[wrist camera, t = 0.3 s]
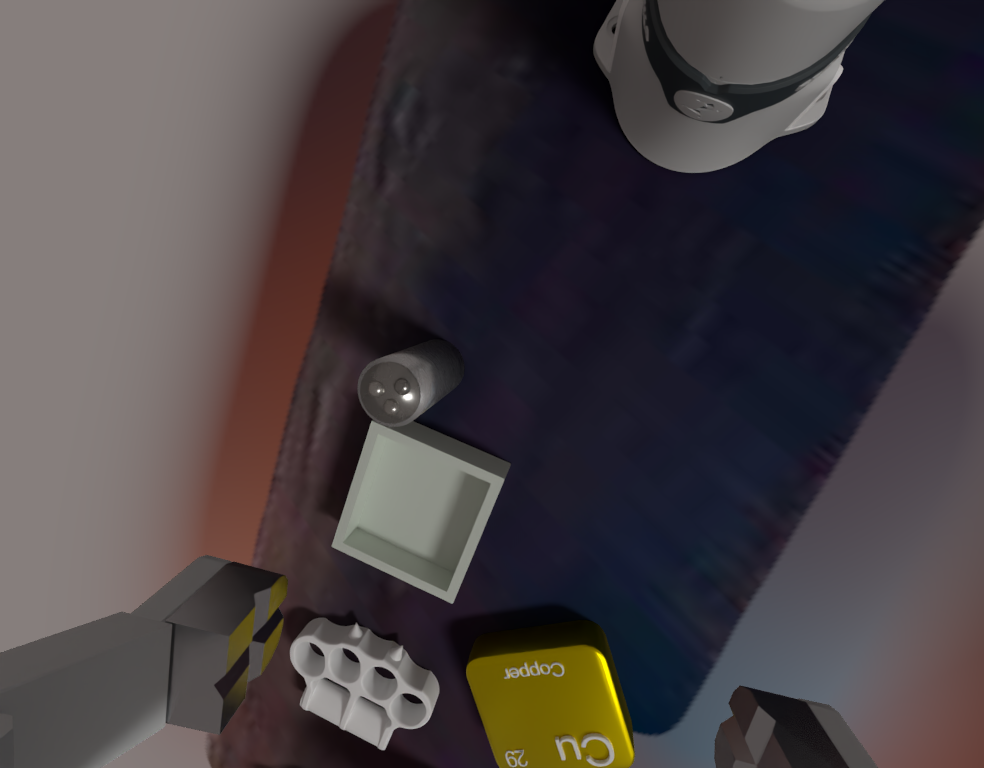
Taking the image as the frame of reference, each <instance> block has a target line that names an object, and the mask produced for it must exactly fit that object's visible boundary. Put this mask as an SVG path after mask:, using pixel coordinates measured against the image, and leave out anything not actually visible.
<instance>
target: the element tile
mask: <svg viewBox="0 0 984 768" xmlns="http://www.w3.org/2000/svg"><path fill="white" fill-rule="evenodd" d="M466 676H467V680H468V682H469V685H470V688H471V691H472V694H473V697H474V700H475V702H476V705H477V708H478V711H479V714H480V717H481V719H482V722H483V725H484V728H485V731H486V734H487V737H488V739H489V742H490V745H491V748H492V751H493V754H494V757H495V759H496V762H497V764H498V766H499V767H500V768H629V767H630V766H631V765H632V764H633V762H634V757H635V751H634V740H633V730H632V721H631V718H630V715H629V711H628V708H627V705H626V701H625V698H624V695H623V691H622V688H621V685H620V681H619V678H618V675H617V671H616V668H615V665H614V661H613V658H612V655H611V651H610V648H609V645H608V641H607V638H606V635H605V633H604V631H603V630H602V628H601V627H600V626H599V625H598V624H596V623H594V622H592V621H587V620H577V621H570V622H563V623H556V624H549V625H541V626H534V627H527V628H520V629H513V630H506V631H499V632H491V633H486V634H482V635H481V636H479V637H477V639H476V640H475V642H474V645H473V648H472V651H471V654H470V657H469V660H468V663H467V667H466Z"/></svg>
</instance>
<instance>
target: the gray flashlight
mask: <svg viewBox="0 0 984 768" xmlns="http://www.w3.org/2000/svg"><path fill="white" fill-rule="evenodd" d="M464 367H465V366H464V360H463V357H462V355H461V353H460V352H459V350H458V349H457V348H456V347H455V346H454V345H452V344H451V343H449V342H447V341H444V340H440V339H434V340H429V341H427V342H424V343H421V344H418V345H415V346H413V347H410V348H407V349H404V350H401V351H398V352H396V353H393V354H390V355H387V356H384V357H382V358H379V359H376V360H374V361H372V362H371V363H369V364H368V365H367V366H366V367H365V369H364V370H363V371H362V373H361V375H360V378H359V381H358V397H359V400H360V403H361V405H362V407H363V409H364V410H365V412H366V413H367V414H368V415H369V416H370V417H371V418H372V419H373V420H375V421H376V422H378V423H380V424H382V425H385V426H389V427H399V426H404V425H406V424H408V423H410V422H412V421H413V420H415V419H416V418H417V417H418V416H420V415H421V414H422V413H424V412H425V411H426V410H427V409H429V408H430V407H431V406H432V405H434V404H435V403H436V402H438V401H439V400H440V399H441V398H443V397H444V396H445V395H447V394H448V393H449V392H450V391H452V390H453V389H454V388H456V387H457V386H458V384H459V383H460V382H461V380H462V378H463V375H464Z"/></svg>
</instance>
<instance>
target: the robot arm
mask: <svg viewBox="0 0 984 768" xmlns="http://www.w3.org/2000/svg"><path fill="white" fill-rule="evenodd" d="M883 1H884V0H616V2H615V4H614V6H613V7H612V9H611V11H610V13H609V14H608V16H607V18H606V20H605V21H604V23H603V25H602V27H601V28H600V30H599V32H598V34H597V36H596V38H595V42H594V46H593V53H594V57H595V59H596V61H597V63H598V65H599V67H600V68H601V70H602V71H603V73H604V74H605V76H606V77H607V79H608V80H609V82H610V85H611V89H612V94H613V101H614V107H615V111H616V115H617V118H618V121H619V123H620V126H621V128H622V130H623V132H624V134H625V135H626V137H627V139H628V140H629V141H630V143H631V144H632V145H633V146H634V147H635V149H636V150H637V151H638V152H640V153H641V154H642V155H643V156H644V157H646V158H647V159H649V160H650V161H652V162H653V163H655V164H657V165H659V166H662V167H664V168H667V169H670V170H674V171H679V172H687V173H700V172H709V171H714V170H718V169H722V168H725V167H728V166H730V165H733V164H735V163H737V162H739V161H741V160H743V159H745V158H746V157H748V156H750V155H751V154H753V153H754V152H755V151H757V150H758V149H760V148H761V147H762V146H764V145H765V144H766V143H768V142H770V141H771V140H773V139H775V138H777V137H780V136H784V135H788V134H792V133H795V132H798V131H801V130H804V129H807V128H809V127H810V126H812V125H814V124H815V123H816V122H817V121H818V120H819V119H820V118H821V116H822V115H823V114H824V112H825V109H826V106H827V103H828V100H829V96H830V93H831V90H832V86H833V84H834V83H835V82H836V81H837V79H838V78H839V77H840V75H841V73H842V71H843V67H842V66H841V65H840V63H841V61H842V58H843V55H844V52H845V50H846V49H847V47H848V45H849V44H850V43H851V42H852V41H853V39H854V38H855V36H856V35H857V34H858V33H859V31H860V30H861V29H862V27H863V26H864V24H865V23H866V21H867V20H868V18H869V17H870V15H871V13H872V11H874V10H875V9H876V8H877V7H878V6H879V5H880V4H881V3H882V2H883ZM615 27H616V30H615V34H613V33H612V30H613V29H614V28H615ZM287 585H288V579H287V578H286V576H285V575H282V574H278V573H274V572H271V571H267V570H263V569H259V568H256V567H252V566H248V565H244V564H241V563H237V562H231V561H228V560H224V559H220V558H216V557H212V556H208V555H206V556H202V557H199V558H197V559H196V560H195V561H193V562H192V563H191V564H190V565H189V566H187V567H186V568H185V569H184V570H183V571H182V572H180V573H179V574H178V575H177V576H175V577H174V578H173V579H172V580H171V581H169V582H168V583H167V584H166V585H165V586H163V587H162V588H161V589H160V590H159V591H157V592H156V593H155V594H154V595H153V596H151V597H150V598H149V599H148V600H147V601H145V602H144V603H143V604H142V605H140V606H139V607H138V608H137V609H136V610H134V611H133V612H132V613H131V614H129V613H125V612H119V613H117V614H113V615H111V616H108V617H105V618H102V619H99V620H96V621H93V622H90V623H87V624H84V625H81V626H78V627H75V628H72V629H69V630H66V631H63V632H60V633H58V634H54V635H52V636H49V637H45V638H43V639H40V640H37V641H34V642H31V643H28V644H25V645H22V646H19V647H16V648H13V649H10V650H7V651H4V652H1V653H0V768H102V767H103V766H105V765H106V764H108V763H109V762H111V761H113V760H114V759H116V758H117V757H119V756H120V755H122V754H123V753H125V752H127V751H128V750H130V749H131V748H133V747H134V746H136V745H137V744H139V743H141V742H142V741H144V740H145V739H147V738H148V737H150V736H151V735H153V734H155V733H156V732H158V731H159V730H161V729H162V728H164V727H165V724H166V723H168V724H173V725H177V726H182V727H186V728H191V729H195V730H201V731H205V732H209V733H214V734H218V735H220V734H221V732H222V731H223V729H224V728H225V726H226V725H227V723H228V722H229V720H230V719H231V718H232V716H233V715H234V713H235V712H236V710H237V709H238V707H239V706H240V704H241V703H242V702H243V700H244V699H245V695H246V687H247V682H249V681H251V680H252V679H254V678H256V677H258V676H260V675H261V674H262V672H263V671H264V669H265V668H266V666H267V665H268V663H269V662H270V660H271V657H272V655H273V653H274V651H275V649H276V647H277V644H278V642H279V638H280V635H281V631H282V626H283V619H284V617H283V615H282V613H281V611H280V609H279V607H278V606H279V605H280V604H281V602H282V601H283V600H284V599H285V597H286V596H287ZM729 705H730V708H731V710H732V713H733V716H732V717H730V718H729V719H727V720H726V721H724V722H723V723H721V724H720V727H719V730H718V732H717V735H716V738H715V757H714V759H715V764H716V768H878V767H877V766H876V764H875V763H874V761H873V760H872V758H871V757H870V756H869V755H868V753H867V751H866V750H865V749H864V747H863V746H862V745H861V743H860V742H859V740H858V739H857V738H856V736H855V735H854V733H853V732H852V731H851V729H850V728H849V726H848V725H847V724H846V722H845V721H844V719H843V718H842V717H841V715H840V714H839V713H838V712H837V711H836V710H835V709H834V708H832V707H831V706H830V705H827V704H822V703H817V702H812V701H808V700H803V699H795V698H791V697H787V696H783V695H778V694H774V693H770V692H765V691H761V690H757V689H753V688H749V687H744V686H739V687H738V688H737V689H736V690H735V691H734V692H733V694H732V697H731V699H730V701H729Z"/></svg>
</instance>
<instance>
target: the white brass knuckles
mask: <svg viewBox="0 0 984 768" xmlns="http://www.w3.org/2000/svg"><path fill="white" fill-rule="evenodd" d="M309 642H311V643H313V644H315V645H317V646H318V647H319V648H320V649H321V650H322V652H323V654H324V657H323V656H320V655H318V654H316V653H315V652H314V651H313V650H312V648H311V646H310V643H309ZM342 648H346V649H348V650H350V651H352V652H353V653H354V654H355V655H356V656H357V657H358V659H359V661H360V663H356V662H353V661H351V660H350V659H348V658H347V657H346V656H345V654H344V652H343V649H342ZM290 658H291V662H292V664H293V666H294V668H295V669H296V670H297V671H298V673H299V674H301V675H302V676H303V677H304V679H305V682H306V685H307V686H306V688H305V691H304V693H303V695H302V698H301V701H300V706H302V708H303V709H304V710H306V711H307V710H309V711H311V712H313V713H315V714H317V715H318V716H320V717H322V718H324V719H326V720H328V721H330V722H332V723H333V724H335V725H337V726H339V727H340V729H342V730H347V731H348V732H350V733H352V734H354V735H356V736H358V737H360V738H362V739H364V740H365V741H367V742H369V743H371V744H373V745H375V746H377V747H378V749H380V750H384V751H385V749H386V746H387V744H388V742H389V739H390V737H391V735H392V732H393V730H394V729H396V728H398V727H402V728H406V729H415V728H419V727H421V726H423V725H424V724H426V723H427V722H428V720H429V719H430V717H431V714H432V711H433V709H434V706H435V703H436V700H437V698H438V695H439V684H438V681H437V679H436V677H435V676H434V674H433V673H432V672H431V671H429V670H425V669H423V668H421V667H419V666H418V665H416V664H415V663H414V662H413V661H412V660H411V659H410V657H409V656H408V654H407V651H405V650H404V649H403V646H399V645H398V644H397V643H395V642H394V641H388V640H384V639H381V638H379V637H378V636H376V635H375V634H373V633H372V632H371V631H370V629H369V628H365V627H361V626H359V625H358V624H357V622H356V624H355V625H350V626H339V625H336V624H334V623H332V622H330V621H329V620H328V619H326V618H316V619H313V620H312V621H310V622H309V623H308V624H307V625H306V627H305V628H304V629H303V630H302V631H301V633H300V634H299V635H298V636H297V637H296V639H295V640H294V641H293V643H292V645H291V648H290ZM374 667H383V668H386V669H388V670H389V671H391V672H392V673H393V674H394V676H395V677H396V678H395V679H387V678H384V677H382V676H381V675H380V674H378V672H377V671H376V670H375V668H374ZM325 678H328V679H330V680H332V681H334V682H336V683H338V684H340V685H342V686H344V687H345V688H347V689H348V690H349V691H348V690H346V689H344V688H342V687H341V686H339V685H337V684H335V683H333V682H331V681H329V680H327V679H325ZM403 693H409V694H413V695H415V696H417V697H418V698H420V699H421V700H422V702H423V703H422V704H414V703H411V702H409V701H408V700H406V699H405V698H404V697H403V695H402V694H403ZM360 696H362V697H365V698H367V699H369V700H371V701H373V702H375V703H376V704H378V705H380V706H382V707H384V708H385V709H383V708H381V707H379V706H378V705H376V704H374V703H372V702H370V701H368V700H366V699H364V698H362V697H360Z"/></svg>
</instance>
